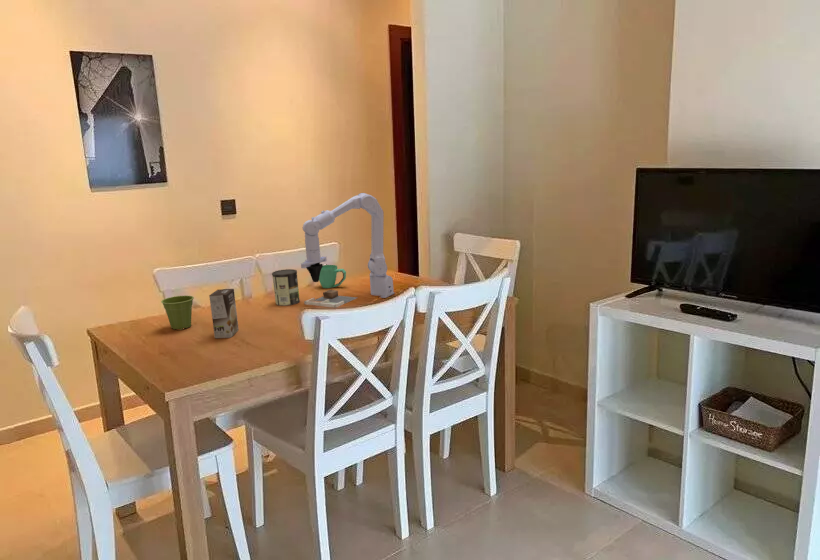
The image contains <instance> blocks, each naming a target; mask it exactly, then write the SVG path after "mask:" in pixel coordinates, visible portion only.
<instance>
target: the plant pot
mask: <svg viewBox="0 0 820 560" xmlns="http://www.w3.org/2000/svg"><path fill="white" fill-rule="evenodd" d="M194 299H195V297H194V296H193V295H176V296H170V297H167V298H164V299H162V300H160V302H161V304H162V305H163V308H164V310H165V312H166V316H167V318H168V321H169V326H170V328H171V329H172V328H173V329H172V330H175V329H180V330H184V329H183V328H186V329H187V328H190V327H191V326H192V315H193V314H192V310H193V301H194Z"/></svg>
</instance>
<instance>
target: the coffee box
mask: <svg viewBox="0 0 820 560" xmlns="http://www.w3.org/2000/svg"><path fill="white" fill-rule="evenodd" d="M208 296H209V302H210V303H209V304H210V311H211V318H212V319H211V320H212V326H213V334H214V335H213V336H214V339H230V338H233V336H235V335H236V333H237V332H238V331H239V321H238V312H237V306H236V305H237V304H236V297H235V289H234V288H225V289H223V288H222V289H216V290H215V291H214V292H212V293H211V294H209V295H208Z"/></svg>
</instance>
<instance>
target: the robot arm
mask: <svg viewBox="0 0 820 560" xmlns="http://www.w3.org/2000/svg"><path fill="white" fill-rule="evenodd" d="M352 209H359V210H360V209H363V210H364V211H366V212H367V213H368V214H369V215H370V216H371V222H370V223H371V226H370V227H371V228H370V229H371V237H370V238H371V246H370V247H371V253H370V255H369V260H368V262H367V269H368V270H369V272H370V273H369V283H370V295H371V296H378V297H379V298H383V299H384V298H385V299H386V298H388V297H390V296H392V295H394V294H395V292H394V278H393V277H392V276H390V275H388V274H387V272H388V265H387V263H386V257H385V254H384V220H385V219H384V210H383V208H382V206H381V205H380V203H379V202H378V199H377V198H376V197H375V196H373V195H371V194H368V193H366V192H361V193H358V194H357V195H354V196H352V197H351V198H349V199H347V200H346V201H344V202H343V203H341V204H340V205H338V206H336V207H335V208H334V209H332V210H328V209H326V210H321V211H320V213H319V214H318V215H316V216H313V217H311V218H310V219H307V220H306V221H305V222H303V225H302V230H303V232H304V244H305V245H304V247H305V254H306V256H305V257H306V259H305V260H304V262H302V263H300V267H301V269H306V270H307V272H309V275H310V278H311V280H312V283H320V281H319V276H320V272H321V269H322V267H323V265H324V264H323V262H324V263H326V262H327V260H328V259H327V256H321V249H320V248H321V247H320V238H319V232H320V230H323V229H325V228H327V227H328V226H331V224H333V223H335V221H336V218H337V217H339V216H341V215H343V214H345V213H346V212H349V211H350V210H352Z"/></svg>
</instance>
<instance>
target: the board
mask: <svg viewBox="0 0 820 560" xmlns="http://www.w3.org/2000/svg"><path fill="white" fill-rule="evenodd" d="M356 299H358V297H354V296H346V295H345V296H344V295H338V297H335V298H333V299H328V298H323V296H321V297H319V298H317V299H316V298H315V297H312V298H310V299H307V300H304V301H303V303H304V304H303V305H307V306H314V307H315V306H317V307H324V308H325V307H326V308H334V309H335V308H338V307H341V306H343V305H345V304H347V303H350V302H351V301H355V300H356Z"/></svg>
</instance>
